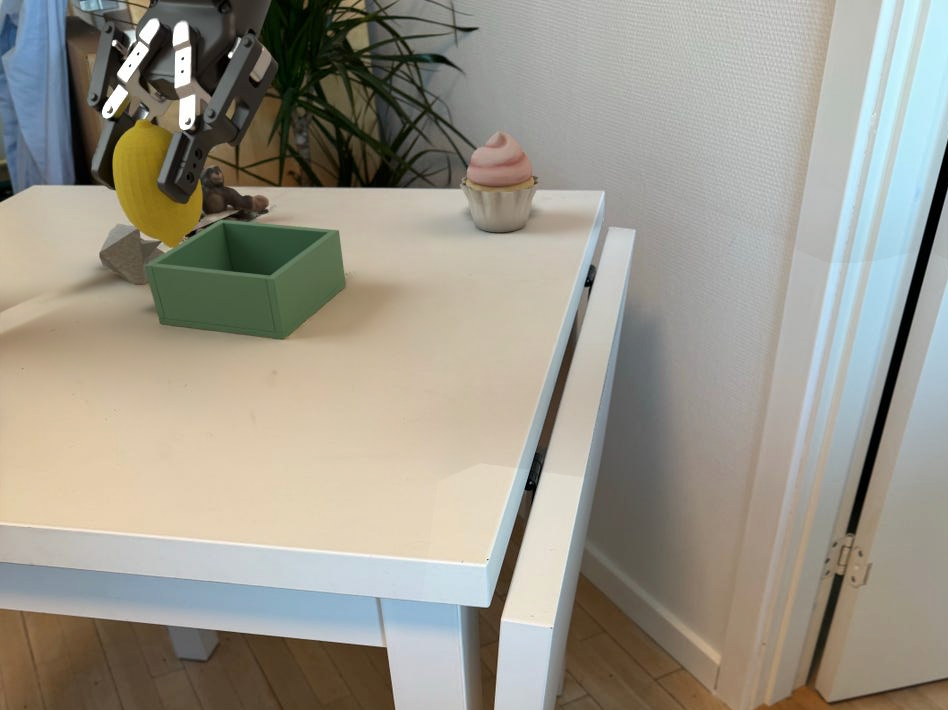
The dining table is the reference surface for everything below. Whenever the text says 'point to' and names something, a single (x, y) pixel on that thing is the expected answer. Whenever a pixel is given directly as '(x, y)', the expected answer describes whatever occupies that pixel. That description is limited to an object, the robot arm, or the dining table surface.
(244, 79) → the robot arm
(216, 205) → the stuffed animal
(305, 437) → the dining table surface
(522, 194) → the cupcake
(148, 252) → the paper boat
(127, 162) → the lemon
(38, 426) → the dining table surface
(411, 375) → the dining table surface
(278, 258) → the bin
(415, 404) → the dining table surface
